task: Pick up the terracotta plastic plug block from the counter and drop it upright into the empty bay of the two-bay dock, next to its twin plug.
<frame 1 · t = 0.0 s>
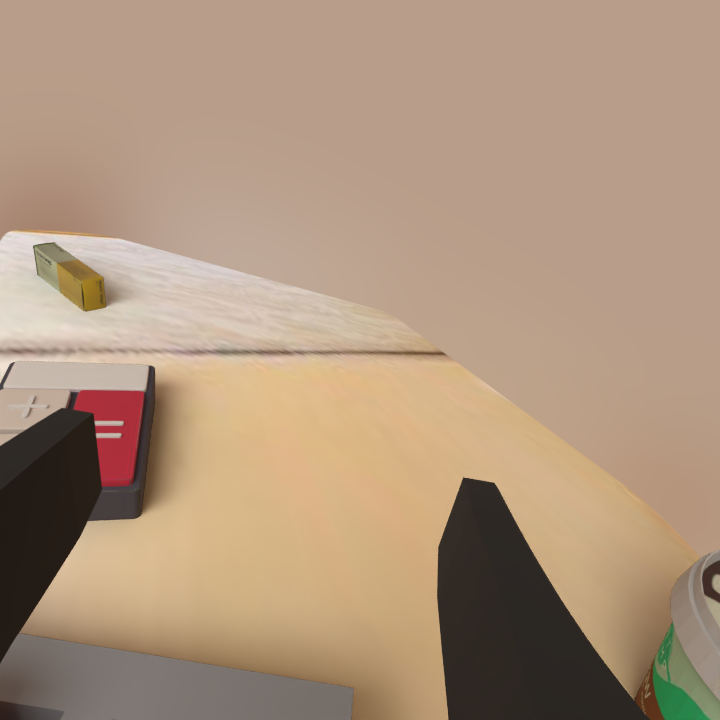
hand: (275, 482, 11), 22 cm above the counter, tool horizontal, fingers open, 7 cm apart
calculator: (71, 456, 43), on the counter
medication box: (70, 293, 67), on the counter
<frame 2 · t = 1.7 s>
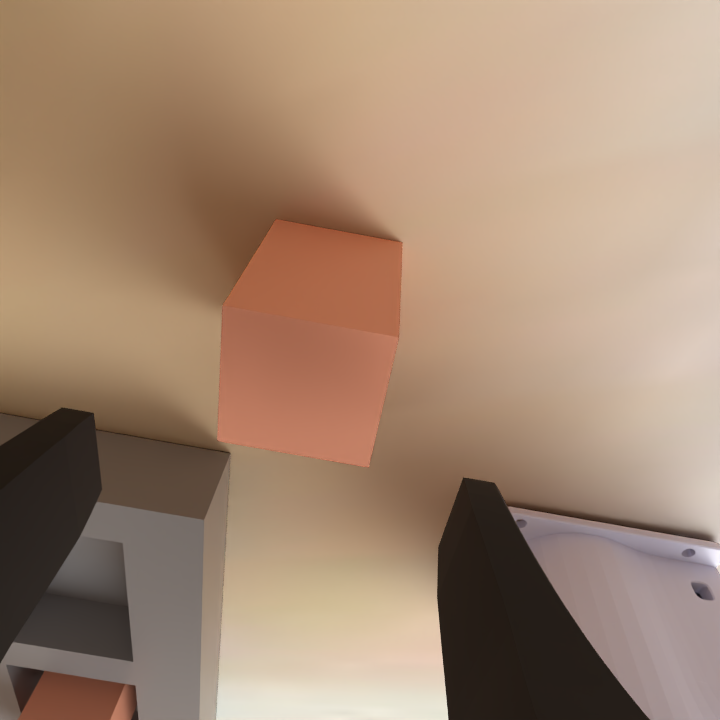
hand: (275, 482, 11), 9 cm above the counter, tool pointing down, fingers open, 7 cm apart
plug: (330, 288, 19), on the counter
dock: (103, 595, 29), on the counter
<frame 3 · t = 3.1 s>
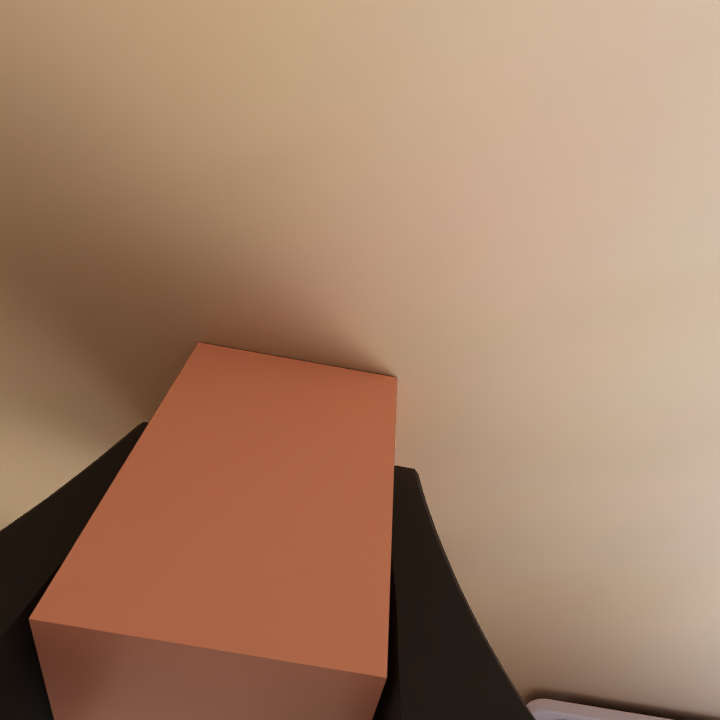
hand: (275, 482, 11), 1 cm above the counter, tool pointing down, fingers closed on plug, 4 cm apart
plug: (288, 436, 12), on the counter, touching gripper
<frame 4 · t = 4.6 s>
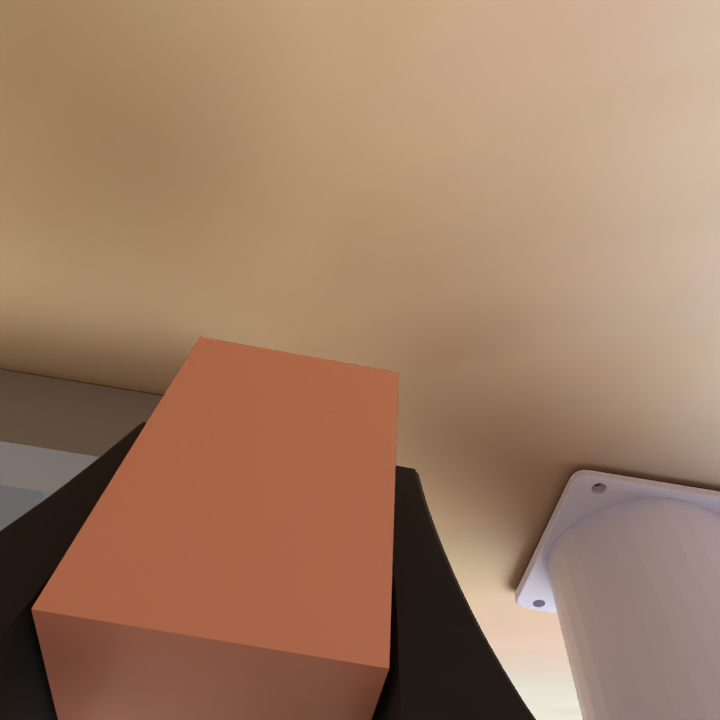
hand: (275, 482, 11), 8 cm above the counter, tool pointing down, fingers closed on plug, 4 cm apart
plug: (289, 431, 12), point 7 cm above the counter, touching gripper
dock: (136, 577, 27), on the counter
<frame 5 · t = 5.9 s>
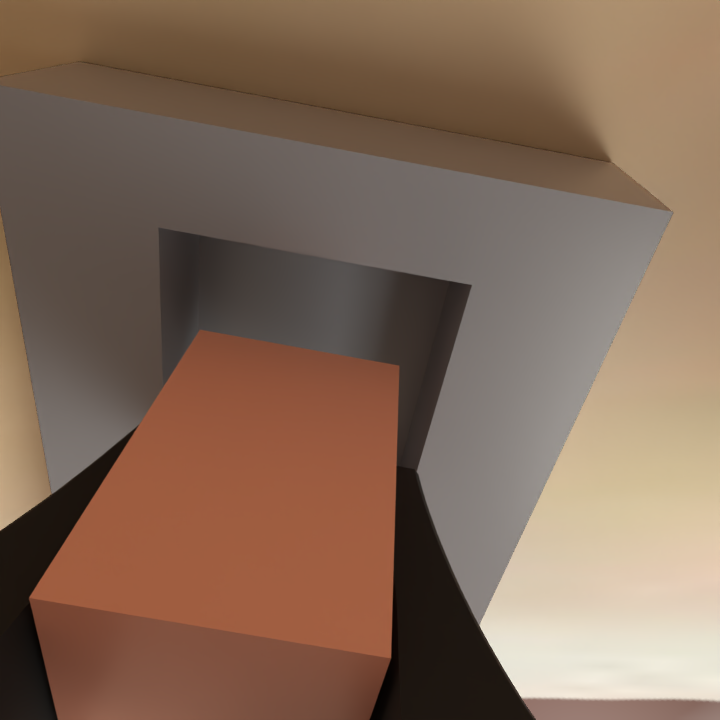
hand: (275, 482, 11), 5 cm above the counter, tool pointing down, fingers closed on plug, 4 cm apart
plug: (290, 425, 12), point 4 cm above the counter, touching gripper
dock: (297, 472, 19), on the counter
when the fingers open (4 cm above the counter, at t = 6.5 s): plug drops 2 cm, resting on dock.
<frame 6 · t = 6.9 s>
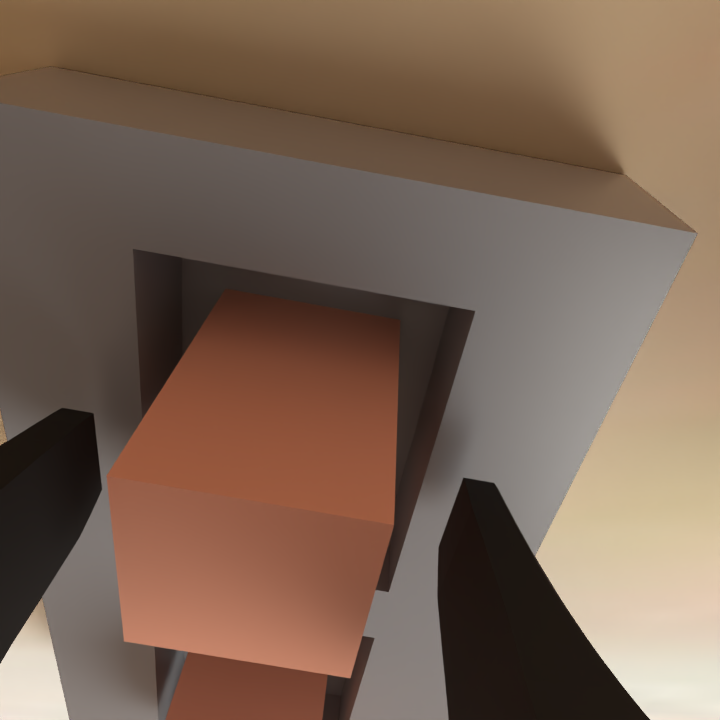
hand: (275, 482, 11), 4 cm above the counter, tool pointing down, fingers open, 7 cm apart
plug: (303, 376, 14), point 1 cm above the counter, touching dock
dock: (290, 496, 18), on the counter
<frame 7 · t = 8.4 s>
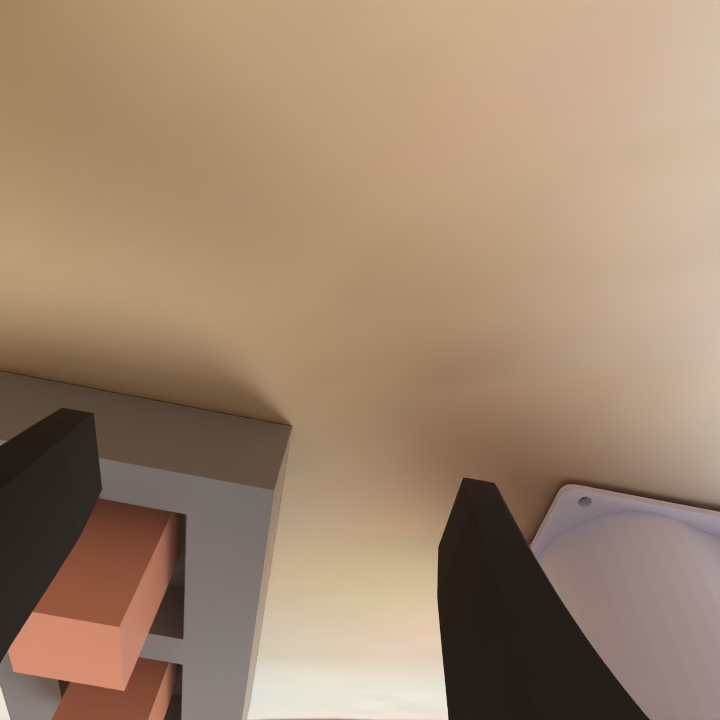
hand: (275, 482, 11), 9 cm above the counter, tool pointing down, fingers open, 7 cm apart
plug: (134, 517, 25), point 1 cm above the counter, touching dock
dock: (146, 573, 28), on the counter
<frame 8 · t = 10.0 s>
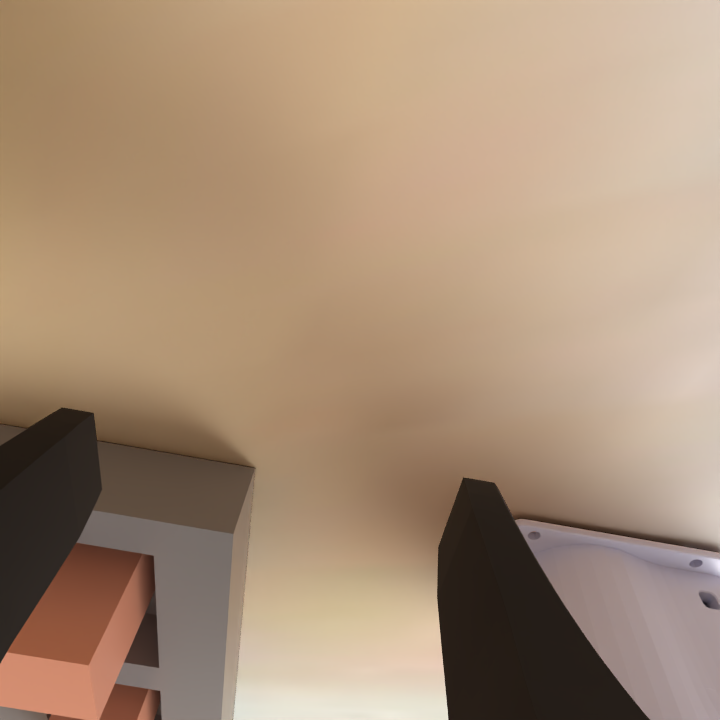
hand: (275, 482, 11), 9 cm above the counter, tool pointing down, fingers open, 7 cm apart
plug: (111, 552, 26), point 1 cm above the counter, touching dock
dock: (127, 602, 30), on the counter
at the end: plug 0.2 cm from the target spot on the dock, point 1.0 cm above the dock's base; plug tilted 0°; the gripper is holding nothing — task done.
